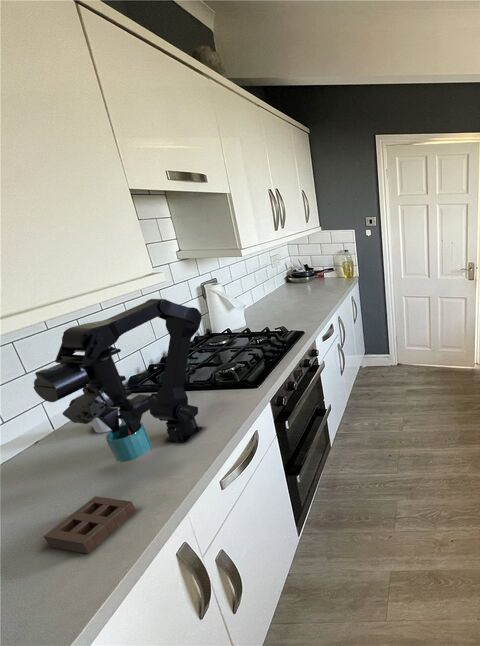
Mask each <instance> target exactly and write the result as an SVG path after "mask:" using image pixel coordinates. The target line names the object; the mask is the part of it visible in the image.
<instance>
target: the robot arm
mask: <svg viewBox="0 0 480 646" xmlns="http://www.w3.org/2000/svg"><path fill="white" fill-rule="evenodd" d="M156 318H158V319H162V320H163V321H165V328H166V330H167V332H168V335H169V342H168V348H167V354H166V360H165V366H164V372H163V377H162V384H161V387H160V388H159V389H158V391H157V392H153V393H151V394H139V393H138V394H137V395H136V396H133V397H132V398H128V397H129V396H132V395H133V393H132V390H128V389H126V388H125V385H124V382H125V381H126V380H127V378H126V376H125V375H120V373H119V371H118V368H117V365H116V363H115V361H114V357H113V356H114V355H116V354H119V353H121V352H122V349H120V348H118V347H117V348H116V347H114V346H113V345H115V344H116V343H117V342H118V340H119V338H120V337H121V336H122V335H124V334H126V333H128V332H130V331H131V330H134V329H136V328H138V327H140V326H142V325H144V324H145V323H147V322H149V321H152V320H154V319H156ZM202 319H203V315H202V313H201V312H200V310H199V309H198V308H197V307H192V306H187V305H183V304H178V303H176V302H173V301H170V300H167V299H166V298H150V299H147V300H146V301H144V302H143V303H139V304H138V305H136V306H134V307H131V308H129V309H126V310H124V311H122V312H120V313H117V314H115V315H113V316H111V317H108V318H106V319H103V320H98V321H93V322H92V321H91V322H87V323H83V324H78V325H75V326H71V327H68V328H67V329H66V330H64V331H63V334H62V337H61V344H60V346H59V348H58V352H57V354H56V357H55V360H54V363H56V364H55V365H53V366H50V367H48V368H44V369H41V370H38V371H36V372H34V375H35V377H36V378H35V379H34V381H33V390H34V391H35V393H36V394H37V395H38V397H39V398H41V399H43V400H44V401H46V402H48V403H56V402H58V401H60V400H62V399H64V398H66V397H68V396H70V395H72V394H74V393H76V392H78V391H80V390H82V393H84V394H83V395H81V396H79V397H77V396H76V397H77V398H76V397H75V398H73V399H71V400H70V402H69V405H68V407H67V408H66V409H65V410H64V411H63V412H62V415H63V416H64V417H66V418H67V419H68V420H69V421H70V422H72V423H73V424H82V425H88V424H91V423H90V422H91V421H93V420H94V418H98V419H100V420H101V421H102V422H103V423H104V424H105V425H106V426H108V427H109V428H110V429H111V430H112V431H113V432H117V431H118V430H119V426H120V425H119V419H121V420H123V422H124V424H126V425H127V427H128V429H129V430H130V432H131V433H132V434H133V433H135V432H137V431H138V429H139V425H140V422H141V420H142V417H143V414H145V413H147V412H148V411H149V414H150V415H151V416H152V417H153V418H155V419H158V420H159V421H160V422H162V421H163V422H165V425H166V433H167V435H168V437H167V438H166V440H167V442H168V441H169V442H176V443H177V442H178V443H187V442H188V441H190V440H191V439H192V438H194V437H195V436H196V435H197V434H198V433H200V432H201V431H202V430H203V427H202V426H198V424H197V420H196V418H195V417H196V416H197V415H198V414H199V406H195V405H191V404H189V397H188V395H187V393H186V390H185V388H184V384H185V379H186V372H187V366H188V361H189V354H190V346H191V340H192V339H193V337H194V335H195V334H196V333H197V332H198V331H199V329H200V326H201V322H202ZM75 353H84V354H75ZM118 413H119V415H118ZM111 430H110V431H111Z"/></svg>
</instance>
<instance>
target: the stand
mask: <svg viewBox="0 0 480 646" xmlns="http://www.w3.org/2000/svg"><path fill="white" fill-rule="evenodd" d="M136 512H137V510H136V508H135V505H134V504H133V501H131V500H124V499H118V498H111V497H105V496H99V495H95V496H93V497H92V498H90V500H88V501H87V502H86V503H84V504H83V505H82V506H81V507H79V508H78V509H77V510H76V511H74V512H72V514H70V515H68V517H67V518H65V519H63V520H62V521H61V522H60V523H58V524H57V525H55V526H54V527H53V528H52V529H51V530H49V531H48V532H47V533H44V535H43V538H44V540H45V542H46V543H47V545H48V546H49V547H50V548H56V549H61V550H66V551H71V552H75V553H80V554H81V553H82V554H87V555H89V554H90V553H92V552H93V551H94V550H95V549H97V547H99V545H101V543H103V542H104V541H105V540H106V539H108V537H109V536H111V534H113V533H114V532H115V531H116V530H117V529H118V528H119V527H121V526H122V524H124V523H125V522H126V521H127V520H129V518H130V517H132V516H133V515H134V514H135V513H136Z"/></svg>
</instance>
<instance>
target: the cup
mask: <svg viewBox="0 0 480 646" xmlns="http://www.w3.org/2000/svg"><path fill="white" fill-rule="evenodd" d="M83 394H84V393H83V392H81V393H79V394H78V395H77V396H76V397H75V398H77V397H79V396H81V395H83ZM118 415H120V412H118ZM89 424H91V426H92V428H93V430H94V432H95V433H97V434H101V433H107V432H110V431H111V429H110V428H109V427H108V426H106V425H105V424H104V423H103V422H102V421H101V420H100V419H98V418H94V420H93V421H91V422H90V423H89ZM121 425H122V419H119V426H121Z"/></svg>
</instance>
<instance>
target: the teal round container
mask: <svg viewBox="0 0 480 646" xmlns="http://www.w3.org/2000/svg"><path fill="white" fill-rule="evenodd" d="M105 440H106V442H107V444H108V446H109V449H110V451H111V453H112V455H113V457H114V459H115V461H116V462H119V463H124V462H125V463H126V462H130V461H133V460H135V459H138V458H140V457H141V456H143V455H145V454H146V453H147V452H148V451H150V450H151V447H152V443H151V440H150V437H149V435H148V433H147V430H146V428H145V425H144V423H143V422H141V421H140V425H139V429H138V431H137V432H135V433H133V434H132V435H130V436H128V427H127V425H126V424H125V423H124V424H120V425H119V430H118V431H117V432H113V431H112V430H110V431H108V433H107V434H106V435H105Z"/></svg>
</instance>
